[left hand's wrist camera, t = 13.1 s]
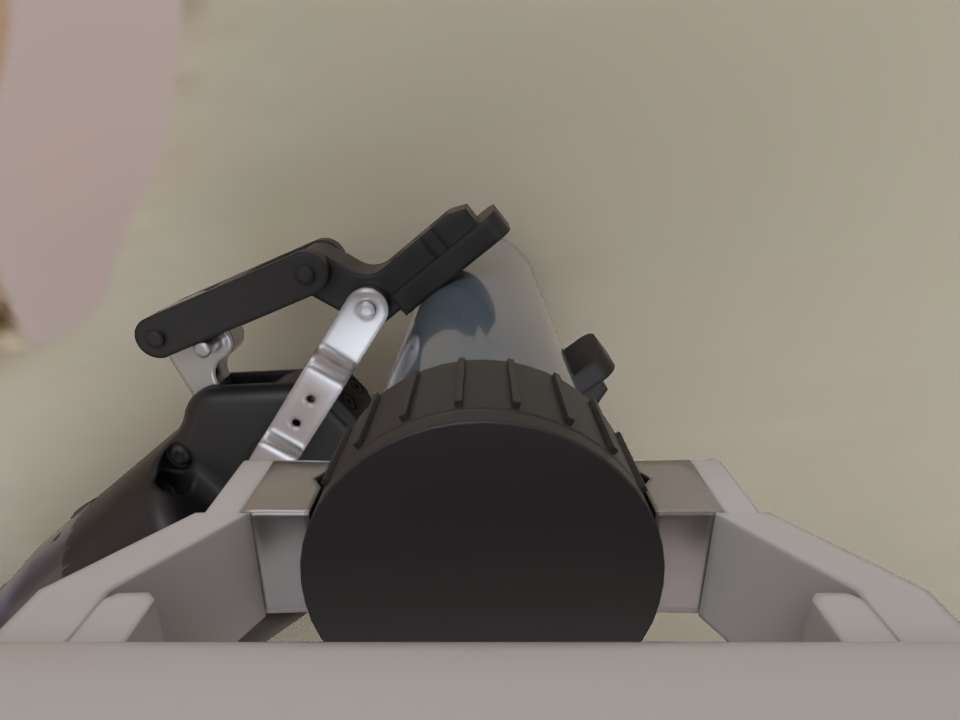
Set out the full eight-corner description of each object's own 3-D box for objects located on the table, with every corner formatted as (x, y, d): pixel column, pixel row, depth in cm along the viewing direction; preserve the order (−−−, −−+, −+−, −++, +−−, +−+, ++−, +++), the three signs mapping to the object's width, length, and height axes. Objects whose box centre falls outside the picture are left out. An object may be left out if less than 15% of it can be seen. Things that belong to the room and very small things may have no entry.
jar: (483, 211, 23) (490, 356, 8) (556, 291, 24) (694, 561, 9) (404, 286, 24) (268, 551, 9) (478, 360, 25) (475, 712, 10)
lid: (301, 373, 9) (250, 439, 7) (625, 335, 9) (668, 392, 7) (363, 623, 11) (336, 735, 9) (636, 596, 11) (673, 705, 9)
